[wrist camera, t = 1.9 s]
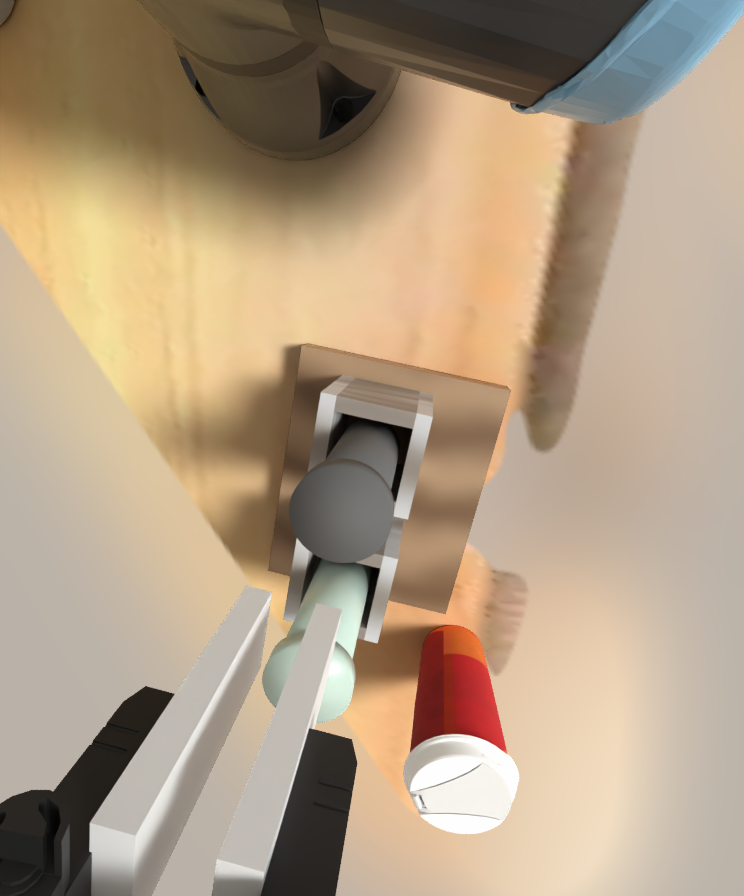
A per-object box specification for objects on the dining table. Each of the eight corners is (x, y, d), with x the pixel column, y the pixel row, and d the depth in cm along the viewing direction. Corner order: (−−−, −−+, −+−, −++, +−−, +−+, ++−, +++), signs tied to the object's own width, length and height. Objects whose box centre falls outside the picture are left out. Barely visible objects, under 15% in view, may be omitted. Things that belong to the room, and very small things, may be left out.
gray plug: (342, 405, 32) (296, 455, 21) (412, 420, 31) (402, 480, 21) (330, 470, 33) (282, 549, 23) (397, 486, 33) (380, 573, 22)
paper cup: (425, 690, 46) (422, 846, 33) (400, 624, 44) (386, 762, 31) (505, 674, 45) (536, 832, 31) (482, 606, 43) (505, 743, 29)
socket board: (308, 343, 38) (269, 355, 29) (506, 386, 37) (530, 413, 28) (275, 559, 44) (234, 624, 35) (444, 600, 43) (448, 679, 34)
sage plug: (318, 535, 35) (268, 638, 24) (382, 551, 34) (360, 661, 24) (308, 590, 36) (257, 710, 26) (369, 605, 36) (343, 732, 25)
